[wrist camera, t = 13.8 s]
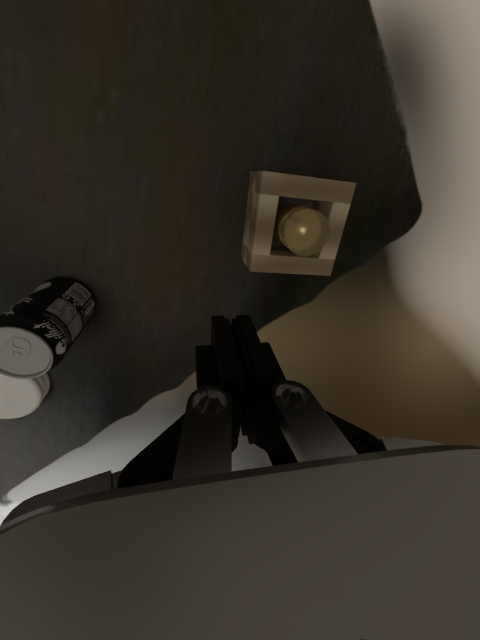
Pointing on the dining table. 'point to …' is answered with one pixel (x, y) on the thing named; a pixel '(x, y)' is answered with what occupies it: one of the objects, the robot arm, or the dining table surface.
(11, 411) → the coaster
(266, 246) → the frame
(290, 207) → the banded brass cylinder
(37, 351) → the beverage can
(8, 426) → the dining table surface
